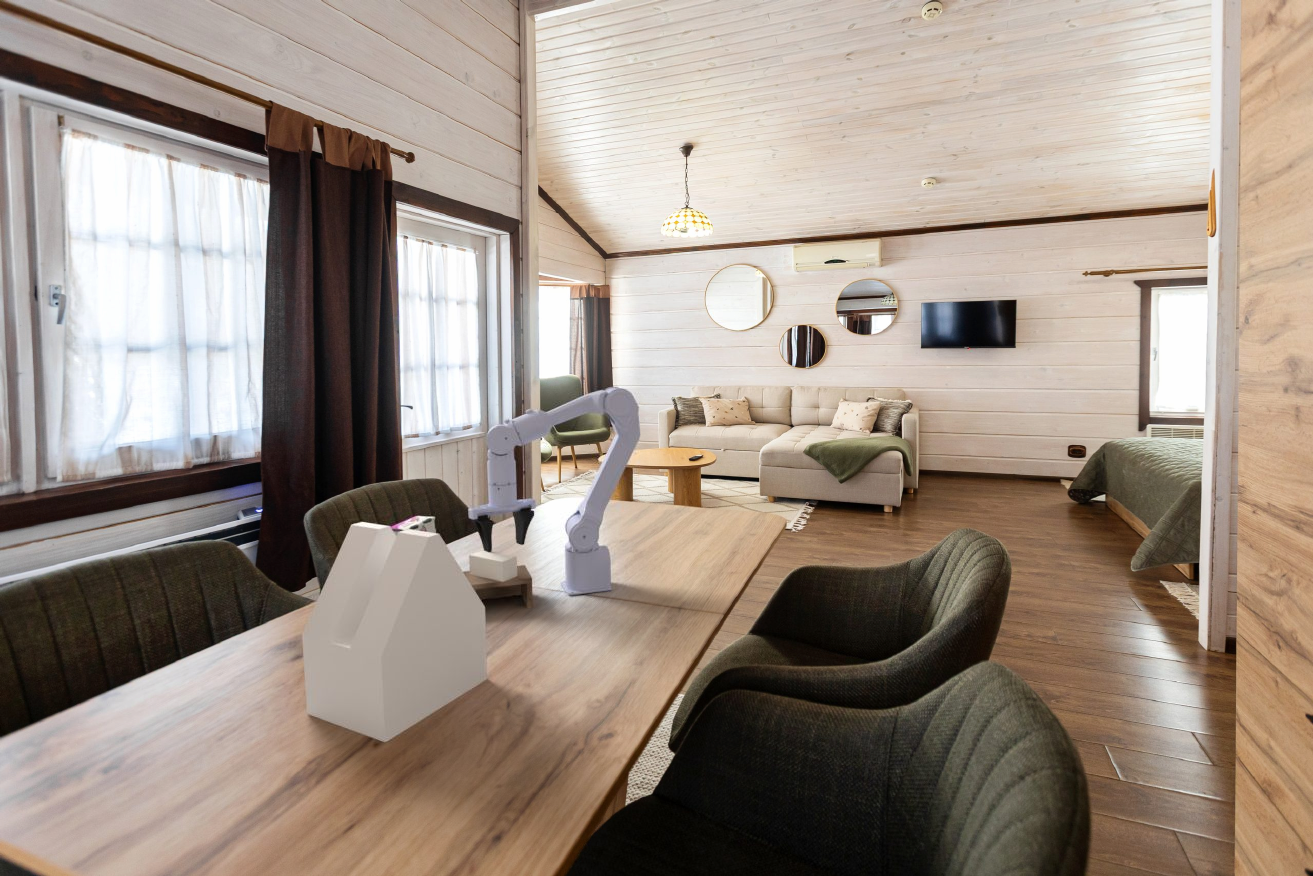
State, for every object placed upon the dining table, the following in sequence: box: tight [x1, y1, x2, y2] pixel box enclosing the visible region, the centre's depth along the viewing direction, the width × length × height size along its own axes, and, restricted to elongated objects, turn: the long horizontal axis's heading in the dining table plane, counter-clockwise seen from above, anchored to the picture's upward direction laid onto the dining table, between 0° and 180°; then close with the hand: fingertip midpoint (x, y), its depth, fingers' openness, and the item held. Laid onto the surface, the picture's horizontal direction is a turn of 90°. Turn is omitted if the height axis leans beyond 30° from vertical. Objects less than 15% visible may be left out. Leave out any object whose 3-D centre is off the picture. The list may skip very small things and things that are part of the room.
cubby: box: [463, 564, 534, 609], centre depth 133 cm, size 14×9×6 cm, turn 110°
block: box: [468, 549, 518, 582], centre depth 133 cm, size 4×9×4 cm, turn 59°
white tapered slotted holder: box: [301, 521, 488, 743], centre depth 96 cm, size 19×15×25 cm
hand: (504, 547), depth 138 cm, fingers open, 7 cm apart
